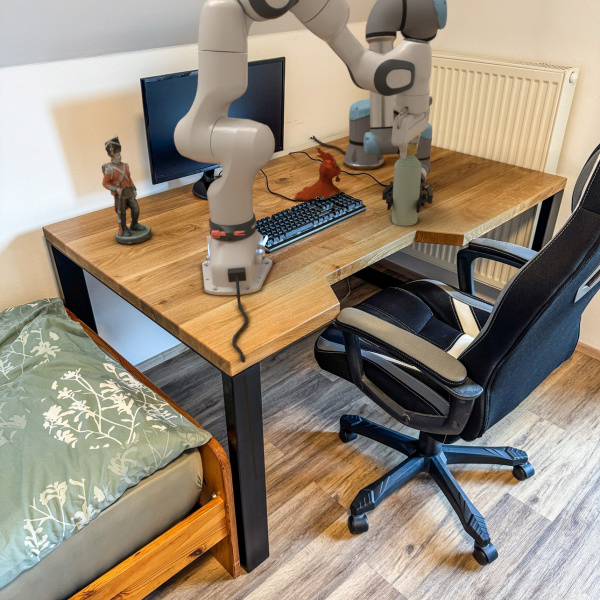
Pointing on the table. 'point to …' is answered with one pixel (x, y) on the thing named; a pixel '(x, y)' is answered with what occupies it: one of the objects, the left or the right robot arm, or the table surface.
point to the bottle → (406, 190)
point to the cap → (411, 149)
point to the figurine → (123, 195)
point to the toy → (323, 179)
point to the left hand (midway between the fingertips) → (408, 153)
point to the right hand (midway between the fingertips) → (403, 207)
